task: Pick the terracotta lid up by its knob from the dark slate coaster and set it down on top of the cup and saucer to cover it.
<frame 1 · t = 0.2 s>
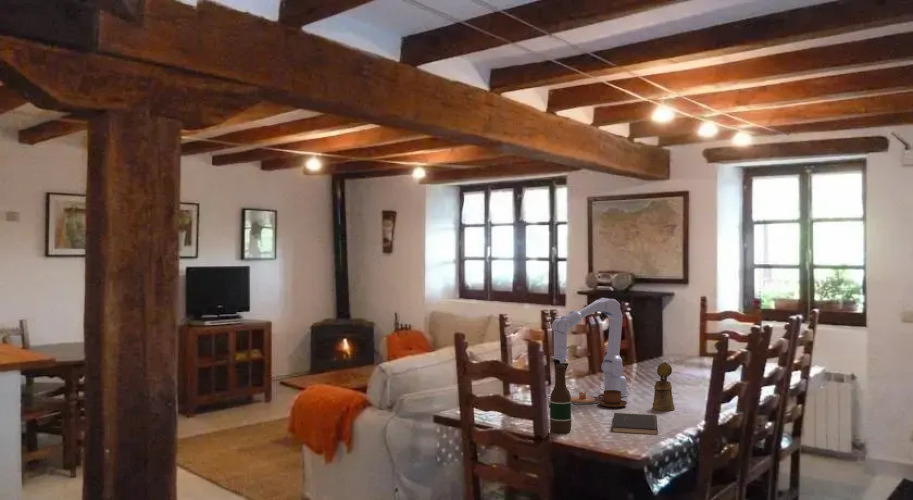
hand: (560, 377, 313), 10 cm above the table, tool pointing down, fingers open, 7 cm apart
lid: (582, 396, 310), on the coaster
coaster: (582, 401, 310), on the table
cup and saucer: (612, 406, 300), on the table
hardcover book: (635, 427, 266), on the table
beer bottle: (560, 431, 258), on the table
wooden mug: (664, 408, 296), on the table
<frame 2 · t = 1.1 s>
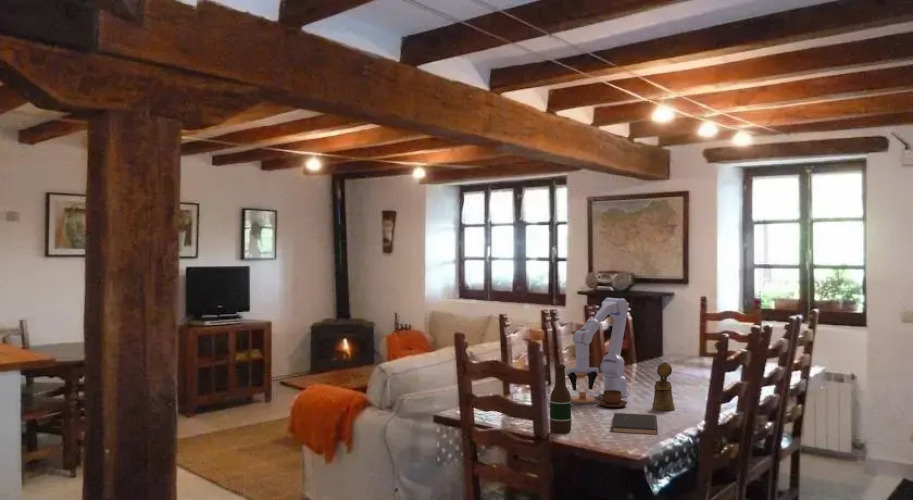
hand: (582, 389, 310), 5 cm above the table, tool pointing down, fingers open, 7 cm apart
nothing on the table moved.
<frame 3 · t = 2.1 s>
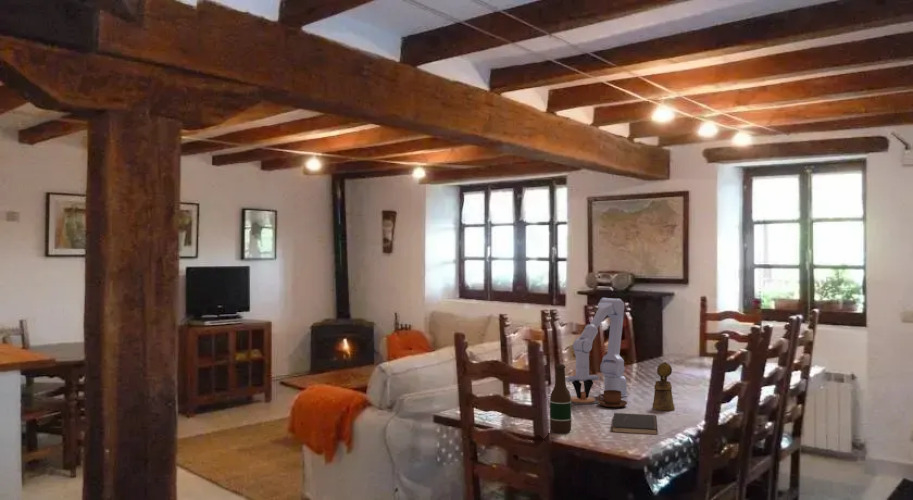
hand: (582, 397, 310), 2 cm above the table, tool pointing down, fingers closed on lid, 3 cm apart
lid: (582, 396, 310), on the coaster, touching gripper
everything else where it was.
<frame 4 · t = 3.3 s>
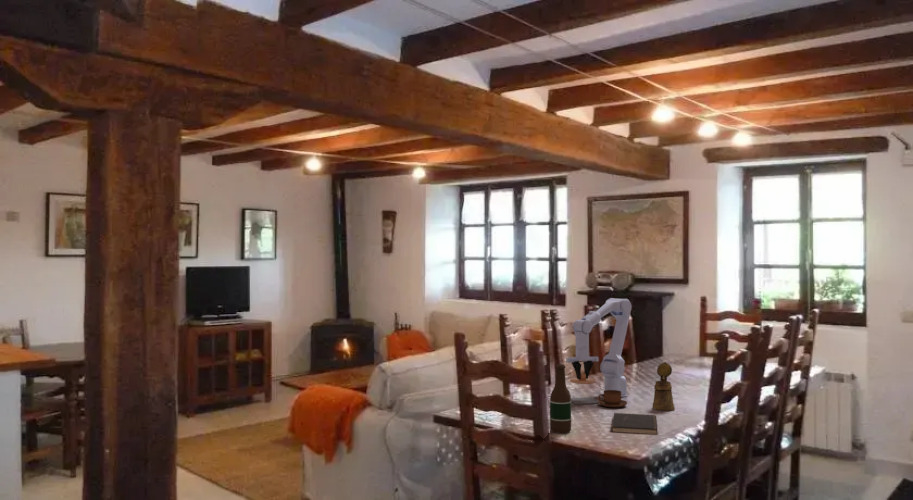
hand: (582, 378, 310), 10 cm above the table, tool pointing down, fingers closed on lid, 3 cm apart
lid: (582, 377, 310), point 10 cm above the table, touching gripper
everything else where it was.
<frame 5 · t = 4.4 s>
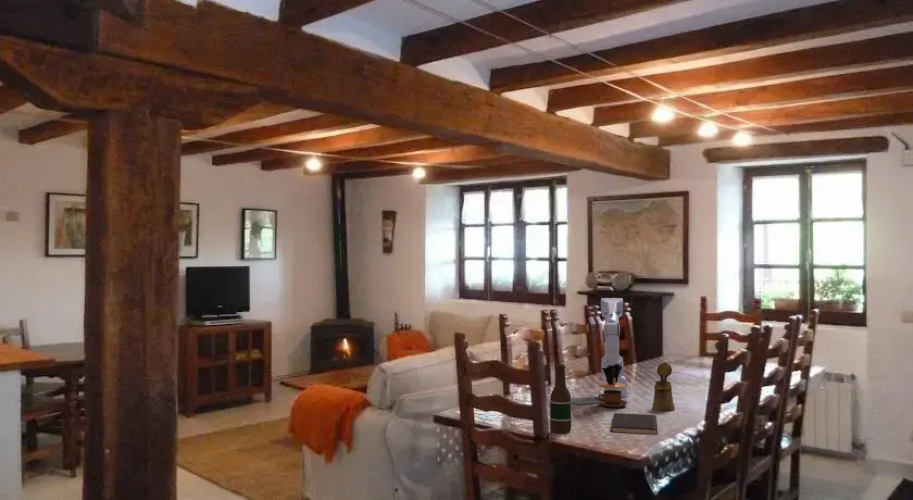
hand: (612, 383, 300), 10 cm above the table, tool pointing down, fingers closed on lid, 3 cm apart
lid: (611, 382, 300), point 10 cm above the table, touching gripper
everything else where it was.
when the fingers open (8 cm above the table, at t = 4.9 s): lid drops 1 cm, resting on cup and saucer.
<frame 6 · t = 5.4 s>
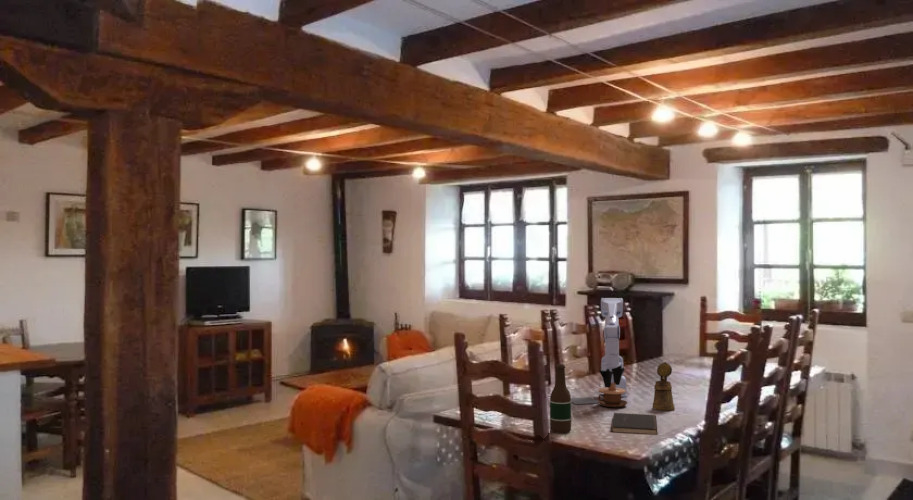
hand: (612, 385, 300), 8 cm above the table, tool pointing down, fingers open, 7 cm apart
lid: (611, 387, 300), point 8 cm above the table, touching cup and saucer
cup and saucer: (612, 406, 300), on the table, touching lid
everything else where it was.
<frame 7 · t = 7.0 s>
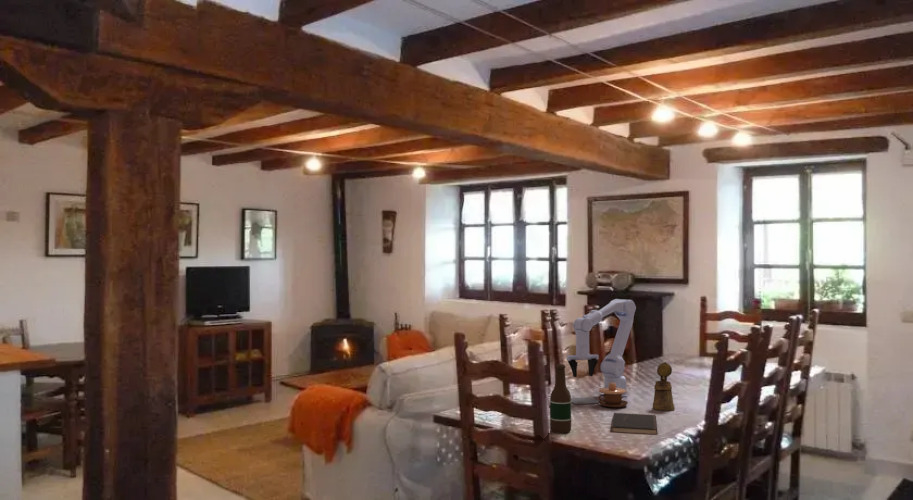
hand: (582, 376, 312), 10 cm above the table, tool pointing down, fingers open, 7 cm apart
nothing on the table moved.
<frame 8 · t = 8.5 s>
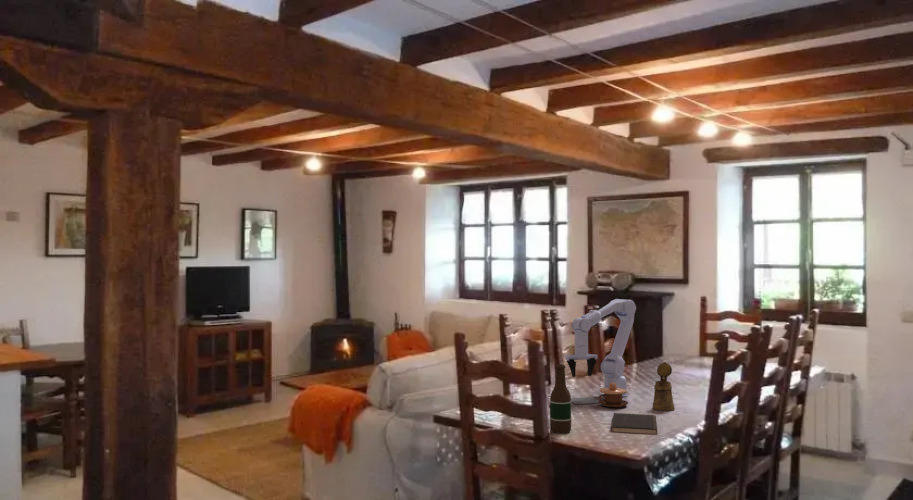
hand: (581, 376, 313), 10 cm above the table, tool pointing down, fingers open, 7 cm apart
nothing on the table moved.
at the end: lid 0.2 cm from the cup and saucer (horizontally); lid point 7.7 cm above the table; the gripper is holding nothing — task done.
